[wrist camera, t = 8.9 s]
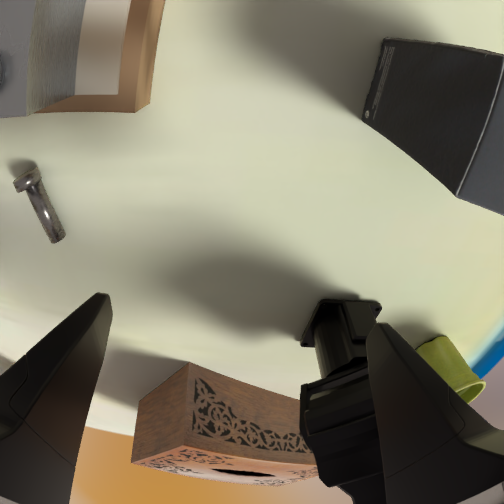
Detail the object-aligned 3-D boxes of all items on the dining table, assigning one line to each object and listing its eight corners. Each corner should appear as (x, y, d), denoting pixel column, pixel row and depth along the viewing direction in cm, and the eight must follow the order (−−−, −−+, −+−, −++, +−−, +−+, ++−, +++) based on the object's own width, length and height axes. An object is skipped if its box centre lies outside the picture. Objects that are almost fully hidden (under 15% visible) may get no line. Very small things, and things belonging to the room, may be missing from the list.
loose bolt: (72, 230, 21) (60, 247, 19) (52, 235, 21) (40, 251, 19) (42, 164, 18) (27, 176, 16) (23, 172, 18) (7, 185, 16)
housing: (96, -43, 8) (45, -68, 4) (74, 95, 12) (16, 120, 8) (22, -25, 7) (-37, -31, 3) (7, 100, 12) (-52, 128, 7)
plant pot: (429, 323, 30) (458, 385, 23) (471, 328, 32) (497, 380, 25) (385, 369, 36) (403, 427, 29) (430, 369, 38) (448, 418, 31)
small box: (355, 125, 18) (450, 205, 9) (381, 34, 14) (504, 43, 5) (467, 168, 19) (555, 246, 11) (492, 96, 15) (596, 151, 7)
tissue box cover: (139, 399, 38) (130, 462, 30) (189, 360, 32) (183, 445, 24) (274, 436, 49) (278, 486, 41) (336, 408, 42) (348, 465, 34)
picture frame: (149, 103, 16) (133, 113, 14) (1, 107, 14) (-27, 120, 12) (176, -48, 10) (165, -65, 8) (13, -20, 9) (-15, -22, 6)
